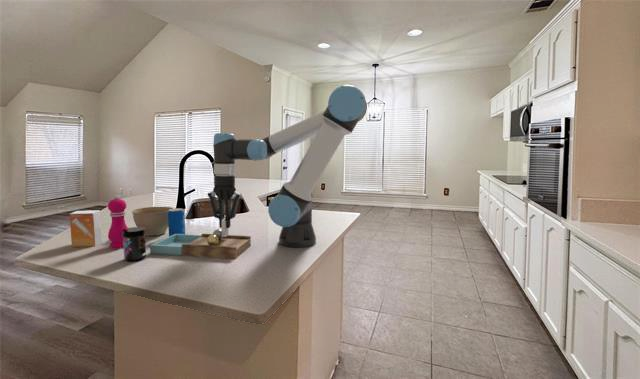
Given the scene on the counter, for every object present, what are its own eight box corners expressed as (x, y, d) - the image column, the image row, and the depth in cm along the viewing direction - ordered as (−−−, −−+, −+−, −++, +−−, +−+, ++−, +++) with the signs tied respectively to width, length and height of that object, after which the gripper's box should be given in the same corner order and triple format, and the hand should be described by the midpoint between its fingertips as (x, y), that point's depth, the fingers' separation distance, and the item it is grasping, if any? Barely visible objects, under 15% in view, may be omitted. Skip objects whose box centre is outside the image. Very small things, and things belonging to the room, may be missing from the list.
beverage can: (179, 239, 136) (178, 211, 135) (165, 238, 137) (164, 210, 136) (188, 235, 142) (187, 208, 141) (175, 234, 144) (174, 207, 142)
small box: (71, 247, 124) (68, 213, 122) (79, 242, 130) (77, 210, 128) (95, 246, 126) (93, 213, 124) (102, 241, 132) (100, 209, 130)
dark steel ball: (217, 226, 128) (214, 235, 129) (212, 229, 124) (209, 238, 125) (226, 230, 128) (223, 239, 128) (222, 232, 124) (219, 242, 124)
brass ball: (220, 244, 120) (220, 233, 120) (215, 247, 116) (215, 236, 116) (210, 243, 121) (210, 233, 120) (205, 247, 117) (204, 236, 116)
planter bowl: (181, 232, 148) (180, 208, 146) (146, 240, 134) (145, 214, 133) (161, 227, 156) (160, 204, 155) (126, 234, 143) (124, 210, 141)
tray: (203, 242, 132) (203, 235, 132) (181, 255, 116) (181, 247, 116) (175, 241, 134) (175, 233, 133) (150, 253, 118) (149, 245, 117)
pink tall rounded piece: (134, 245, 128) (131, 194, 125) (116, 250, 121) (113, 196, 119) (122, 242, 131) (119, 193, 128) (104, 247, 124) (100, 195, 122)
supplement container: (129, 256, 115) (127, 227, 114) (149, 255, 116) (147, 226, 115) (120, 262, 109) (118, 232, 107) (142, 261, 110) (140, 231, 108)
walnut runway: (250, 245, 129) (250, 236, 128) (235, 258, 114) (235, 247, 113) (202, 243, 131) (202, 233, 131) (182, 255, 117) (181, 244, 116)
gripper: (244, 174, 126) (244, 234, 129) (212, 173, 127) (213, 232, 130) (237, 176, 118) (237, 239, 121) (203, 175, 120) (204, 237, 123)
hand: (225, 235), depth 126 cm, fingers closed
